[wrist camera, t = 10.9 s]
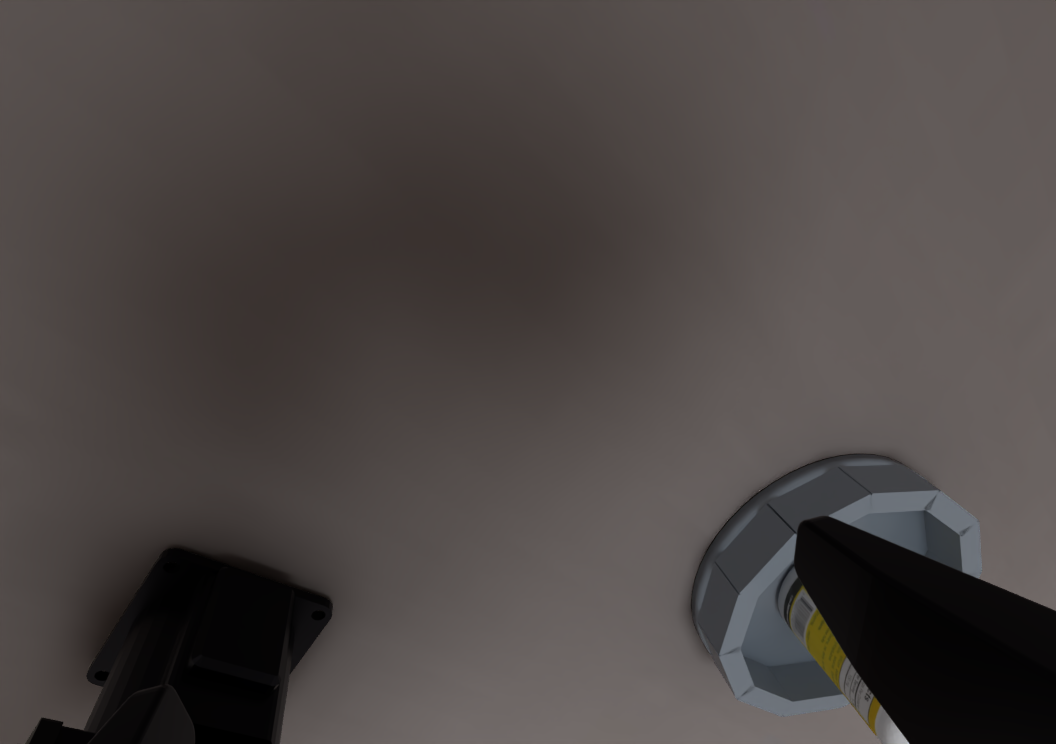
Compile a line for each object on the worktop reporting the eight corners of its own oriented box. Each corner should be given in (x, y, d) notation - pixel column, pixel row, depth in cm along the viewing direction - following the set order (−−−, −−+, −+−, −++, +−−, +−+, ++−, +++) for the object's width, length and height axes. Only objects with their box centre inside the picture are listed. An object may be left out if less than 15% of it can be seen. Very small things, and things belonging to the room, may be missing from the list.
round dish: (803, 692, 34) (837, 739, 31) (637, 623, 28) (663, 673, 26) (976, 519, 31) (1028, 556, 29) (830, 406, 26) (879, 439, 23)
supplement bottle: (890, 572, 30) (1102, 766, 21) (804, 639, 31) (976, 854, 22) (846, 515, 28) (1065, 709, 19) (754, 590, 28) (924, 810, 19)
